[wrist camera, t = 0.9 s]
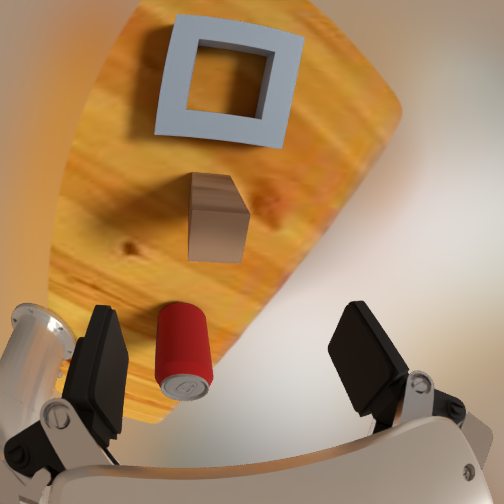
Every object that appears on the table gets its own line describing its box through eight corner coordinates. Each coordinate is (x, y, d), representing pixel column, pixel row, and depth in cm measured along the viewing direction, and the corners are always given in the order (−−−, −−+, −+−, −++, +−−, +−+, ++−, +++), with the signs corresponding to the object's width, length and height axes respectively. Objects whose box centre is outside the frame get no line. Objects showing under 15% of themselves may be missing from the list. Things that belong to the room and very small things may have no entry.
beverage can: (149, 320, 36) (144, 392, 26) (174, 290, 34) (173, 365, 24) (188, 339, 39) (193, 408, 29) (215, 312, 37) (227, 384, 27)
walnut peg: (224, 210, 30) (241, 263, 21) (188, 207, 29) (188, 261, 20) (230, 175, 28) (250, 214, 19) (192, 172, 27) (192, 209, 18)
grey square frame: (273, 144, 27) (281, 149, 25) (158, 131, 24) (154, 134, 22) (294, 42, 22) (304, 37, 19) (178, 23, 19) (176, 14, 16)
